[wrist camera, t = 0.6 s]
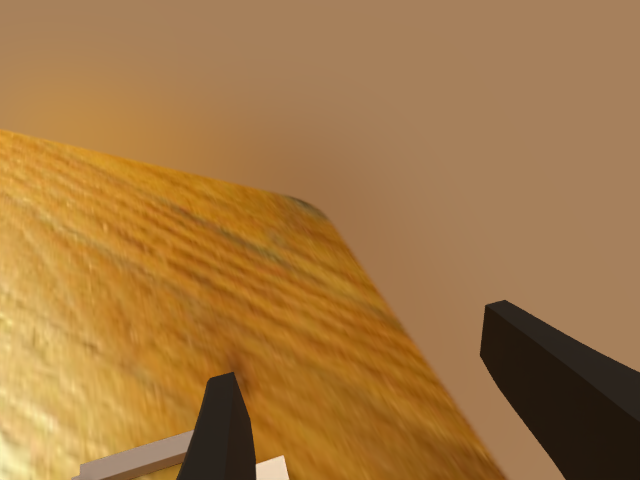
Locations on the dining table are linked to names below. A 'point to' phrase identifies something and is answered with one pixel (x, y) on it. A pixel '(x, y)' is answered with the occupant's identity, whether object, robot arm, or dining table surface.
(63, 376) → the dining table surface
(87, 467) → the beige piece
